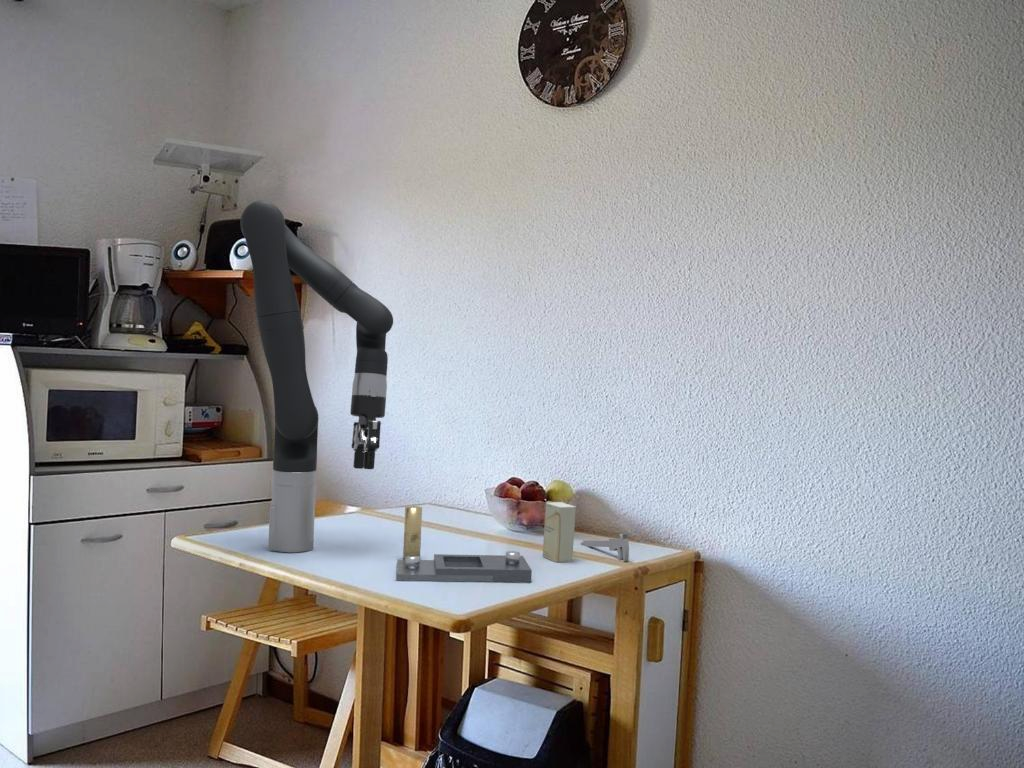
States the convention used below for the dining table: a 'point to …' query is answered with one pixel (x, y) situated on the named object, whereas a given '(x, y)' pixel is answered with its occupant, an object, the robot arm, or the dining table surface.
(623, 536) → the caliper
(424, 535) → the dining table surface
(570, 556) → the skincare box
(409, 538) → the pin
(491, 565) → the chain end upper
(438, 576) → the chain end lower
